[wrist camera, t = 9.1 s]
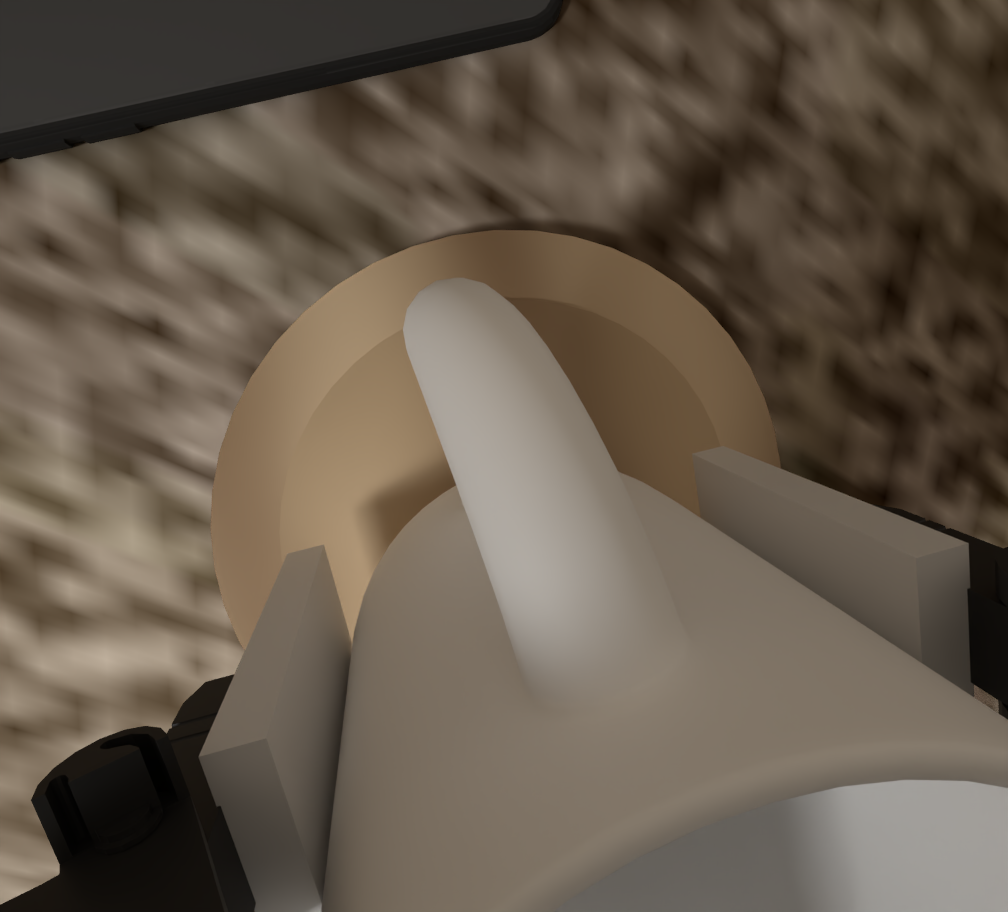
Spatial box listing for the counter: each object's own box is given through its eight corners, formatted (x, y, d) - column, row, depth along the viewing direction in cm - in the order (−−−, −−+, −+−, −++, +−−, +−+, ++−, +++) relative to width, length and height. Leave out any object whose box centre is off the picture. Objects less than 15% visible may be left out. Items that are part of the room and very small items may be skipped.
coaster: (308, 832, 18) (305, 853, 17) (133, 301, 14) (120, 300, 14) (793, 690, 19) (807, 704, 18) (736, 181, 16) (752, 175, 15)
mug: (225, 354, 13) (-320, 491, 3) (616, 230, 14) (1214, 7, 4) (426, 833, 16) (484, 1693, 6) (737, 708, 17) (1250, 1291, 7)
